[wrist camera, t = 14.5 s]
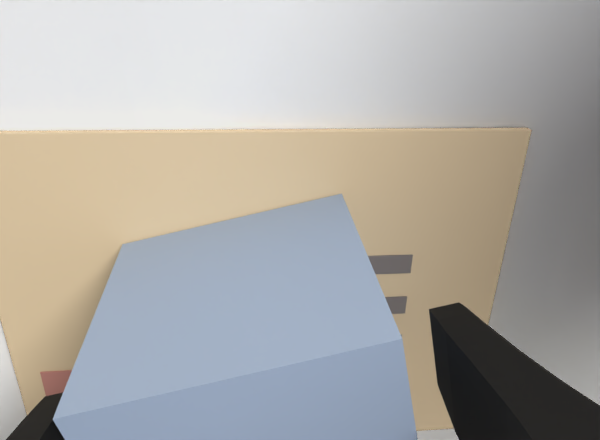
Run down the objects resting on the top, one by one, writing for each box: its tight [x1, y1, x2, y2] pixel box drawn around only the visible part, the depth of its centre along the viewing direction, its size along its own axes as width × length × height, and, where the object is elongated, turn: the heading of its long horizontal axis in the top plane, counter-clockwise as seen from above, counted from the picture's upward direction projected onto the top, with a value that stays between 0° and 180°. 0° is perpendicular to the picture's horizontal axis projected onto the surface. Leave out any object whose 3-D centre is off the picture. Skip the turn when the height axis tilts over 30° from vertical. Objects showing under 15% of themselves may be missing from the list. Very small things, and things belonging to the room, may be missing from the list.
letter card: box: [0, 128, 532, 431], centre depth 13 cm, size 12×9×1 cm
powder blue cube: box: [53, 194, 417, 440], centre depth 11 cm, size 5×5×5 cm
